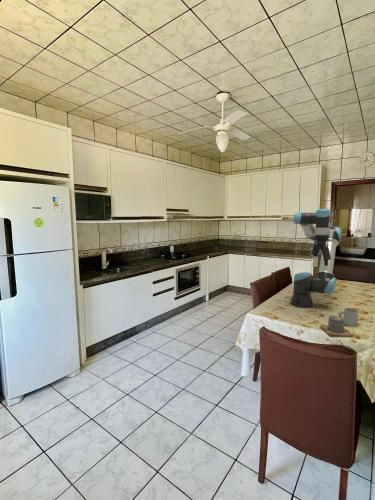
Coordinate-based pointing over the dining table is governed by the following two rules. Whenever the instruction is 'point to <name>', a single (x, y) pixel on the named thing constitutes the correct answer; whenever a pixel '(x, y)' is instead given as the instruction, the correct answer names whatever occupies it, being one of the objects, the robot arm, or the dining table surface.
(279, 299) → the dining table surface
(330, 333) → the shaft block
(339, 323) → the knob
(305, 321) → the dining table surface
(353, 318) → the cup
